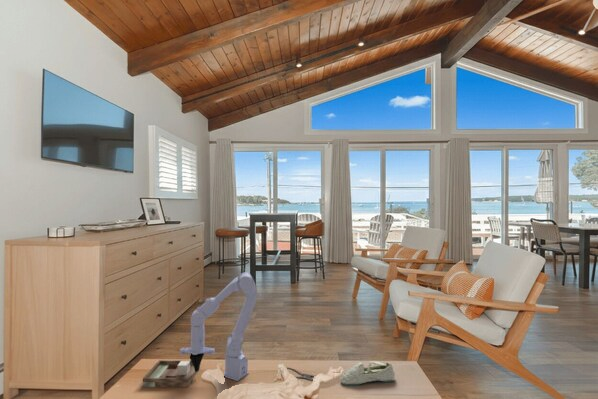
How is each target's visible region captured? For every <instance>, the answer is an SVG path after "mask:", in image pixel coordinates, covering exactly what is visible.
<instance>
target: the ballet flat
mask: <svg viewBox="0 0 598 399" xmlns="http://www.w3.org/2000/svg"><path fill="white" fill-rule="evenodd" d="M372 364H374V366H372ZM395 375H396V374H395V371H394V367H393V366H392V363H391V362H389V361H387V362H385V363H384V362H380V361H372V360H371V361H369V363H368V366H367V367H365V365H364V363H363V362H361V361H359V362H357V364H355V365H354V366H351V367H349V368H348V369H346V370H345V371H344V372H342V374H341V375H340V384H341V383H342V385H344V384H345V385H344V386H357V385H362V384H365V383H370V382H376V381H377V382H386V383H387V382H388V383H390V382H393V381H394V380H395Z"/></svg>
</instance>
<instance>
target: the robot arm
mask: <svg viewBox="0 0 598 399" xmlns="http://www.w3.org/2000/svg"><path fill="white" fill-rule="evenodd" d="M255 283H256V282H255V279H254V278H253V276H252V274H251V273H250V272H247V271H245V272H241V273H240V274H239V276H237V277H234V278H233V279H232V280H231V282H229V284H227V285H226V286H225V287H224V288H223V289H222V290H221V291H220V292H219V293H218V294H217V295H216V296H215V297H209V298H206V299H205V300H204V303H203V304H201V306H198V307H196V309H195V310H194V311H193V312H192V313H191V317H190V318H189V320H190V347H181V348H180V349H179V355H183V354H184V355H188V354H189V358H190V359H189V360H190V361H192V363H193V366H194V369H195V372H197V373H198V372H199V371H200V368H201V363H202V360H203V358H204V356H205V355H212V356H213V355H215V352H216V350H215V347H207V346H205V331H206V330H205V322H206V321H205V320H206V319H208V318H210V316H211V315H213V314H214V313H215V312H216V311H217V310H218V309H219V308H220V304H221V302H223V301H224V300H225V299H227V298H228V296H230V295H231V294H232V293H233V292H240V291H241V290H242V292H244V295H245V300H244V302H243V304H242V307H241V310H240V312H239V316H238V318H237V321H236V323H235V326H234V328H233V330H232V332H231V334H230V335H229V336H228V337H227V339H226V348H225V350H226V351H225V358H224V361H225V366H224V367H225V368H224V371H223V372H224V375H225V377H224V378H228V379H231V380H234V381H235V382H237V381H239V380H241V379H242V378H244V377H245V376H247V375H248V374H249V373H250V372H249V371H248V367H249V366H248V363H249V362H248V360H249V359H248V358H247V356H246V355H244V354H243V350H242V343H243V340H244V334H245V332H246V330H247V327H248V324H249V321H250V319H251V317H252V313H253V311H254V308H255V305H256V302H257V300H258V297H259V294H258V291H257V286H256V284H255Z"/></svg>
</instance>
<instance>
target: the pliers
mask: <svg viewBox="0 0 598 399" xmlns="http://www.w3.org/2000/svg"><path fill="white" fill-rule="evenodd" d="M286 367H287V366H286ZM287 370H291V371H293V372H295V373H297V374H299V375H300V376H295V377H296V378H298V379H303V380H307V381H310V382H313V381H312V380H313V378H314V376H315V375H313V374H308V373H302V372H300V371H298V370H297V369H295V368H292V367H287Z"/></svg>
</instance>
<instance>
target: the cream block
mask: <svg viewBox="0 0 598 399" xmlns="http://www.w3.org/2000/svg"><path fill="white" fill-rule="evenodd" d="M190 361H191V360H181V362H180V363H179V364H178V369H177V375H187V374H188V372H189V371H190Z"/></svg>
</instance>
